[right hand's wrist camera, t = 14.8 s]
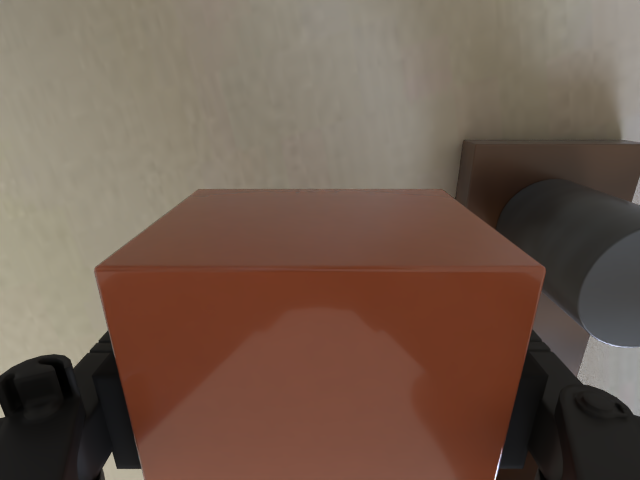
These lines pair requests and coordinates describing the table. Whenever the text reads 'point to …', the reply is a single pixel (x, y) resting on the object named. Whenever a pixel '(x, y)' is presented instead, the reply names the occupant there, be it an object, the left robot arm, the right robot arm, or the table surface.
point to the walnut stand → (565, 235)
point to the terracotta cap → (320, 336)
